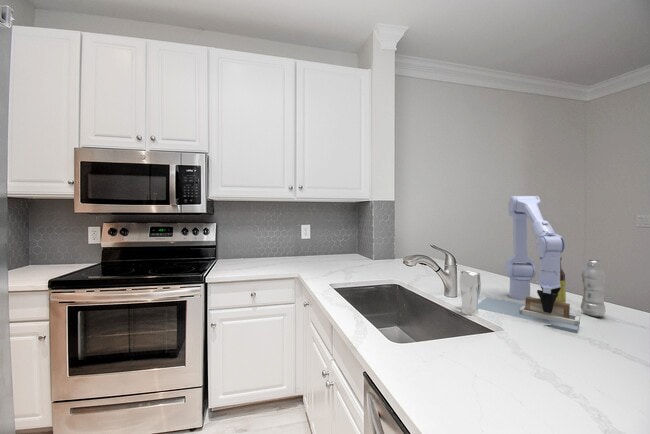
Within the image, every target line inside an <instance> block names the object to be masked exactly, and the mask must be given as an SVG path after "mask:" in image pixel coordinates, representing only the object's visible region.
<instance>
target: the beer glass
mask: <svg viewBox="0 0 650 434" xmlns="http://www.w3.org/2000/svg"><path fill="white" fill-rule="evenodd" d="M481 283H482V281H481V273H480V272H477V271H470V270H463V271H460V274H459V293H460V297H461V308H460V313H461V314H462V315H466V316H470V317H472V316H473V315H472V314H479V309H478V304H479V300H480V293H481V287H482V285H481Z"/></svg>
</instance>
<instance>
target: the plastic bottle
mask: <svg viewBox="0 0 650 434" xmlns="http://www.w3.org/2000/svg"><path fill="white" fill-rule="evenodd" d="M601 267H602V261H601V260H598V259H597V260H596V259H587V260H586V267H585V268H584V269H583V270H582V272H581V276H580V277H581V282H582V288H583V290H582V291H583V293H582V301H581V303H580V310H581V312H582V313H583V314H584V315H587V316H591V317H597V318H599V317H600V318H601V317H604V316H605V315H606V305H605V301H604V300H605V299H604V289H605V283H606V278H607V276H606V273H605V272H604V271H603V269H602V268H601Z"/></svg>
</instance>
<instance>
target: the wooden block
mask: <svg viewBox="0 0 650 434" xmlns="http://www.w3.org/2000/svg"><path fill="white" fill-rule="evenodd" d="M524 304H525V310H528V311H532V312H537V313H542V314H547V315H552V316H557V317H562V318H567V319H569V316H570V313H571V311H570V310H571V304H570V303H569V302H568V303H567V302H566V303H562V302H557V301H554V305H553V310H552V312H551V313H547V312H544V311H543V308H542V303H541V299H540V297H539V298H538V297H532V296H530V297H526V300H525V303H524Z"/></svg>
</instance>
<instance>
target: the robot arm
mask: <svg viewBox="0 0 650 434" xmlns="http://www.w3.org/2000/svg"><path fill="white" fill-rule="evenodd" d="M507 205H508V209H507V211H508V216H510V217H512V239H513V240H512V242H513V244H512V245H513V250H512V251H513V254H512V255H510V256H509V257H508V258H506V260H505V266H504V271H505V275H506V276H507V277H508V278H509V297H510V298H512V299H515V300H521V301H523V300H524V301H526V297H531V281H532V280H533V279H534V278H535V277H536V275H537V270H536V265H535V261H534V260H533V259H532V258H531V257H529V256H528V231H527V230H528V227H527V225H528V224H527V222H528V221H527V220H528V219H529V221H530V222H531V224H532V225H531V227H530V229H531V230H532V233H533V235H534V237H535V238H536V243H535V245H536V250H537V256H538V257H539V268H538V269H539V270H538V274H539V275H538V280H535V281H534V284H536V285H538V286H539V287H540V288H541V289H537V290H536V292H537V296H539V299H541V303H542V308H543V311H544V312H547V313H551V312H552V310H553V305H554V301H556V298H557V296H558V292H559V291H560V289H561V288H560V287H561V285H560V257H561V258H562V256H561V253H563V252H564V251H565V248H566V242H565V240H564V237H563V236H561V235H559V234H558V233H556V232H555V230H554V228H553V227H552V226H551V223H550V222H549V221H548V220H544V217H543V215H542V212H541V210H540V209H541V205H542V203H541V198H540V197H539V195H512V196H510V198H509V200H508V204H507Z"/></svg>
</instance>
